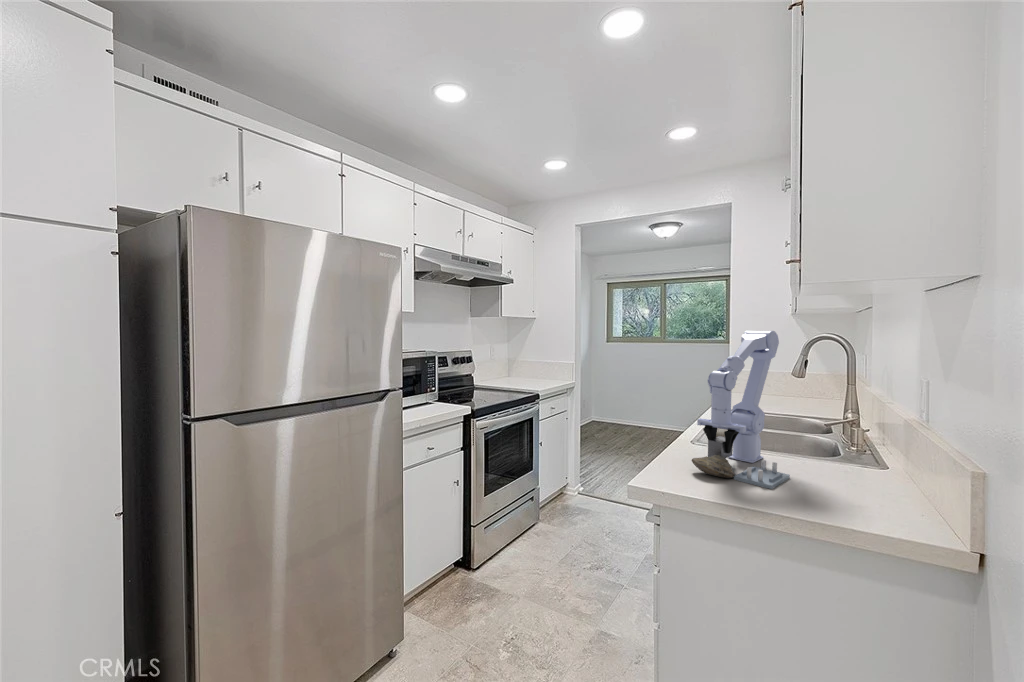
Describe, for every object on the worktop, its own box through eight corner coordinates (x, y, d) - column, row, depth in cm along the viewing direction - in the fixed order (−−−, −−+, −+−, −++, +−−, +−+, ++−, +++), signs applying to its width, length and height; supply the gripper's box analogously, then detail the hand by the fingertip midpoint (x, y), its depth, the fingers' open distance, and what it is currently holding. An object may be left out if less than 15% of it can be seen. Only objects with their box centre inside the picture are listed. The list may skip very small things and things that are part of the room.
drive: (719, 452, 145) (719, 435, 145) (732, 455, 142) (732, 438, 142) (707, 457, 140) (708, 440, 140) (721, 460, 137) (721, 442, 137)
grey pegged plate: (753, 469, 137) (753, 456, 137) (789, 478, 130) (789, 464, 130) (733, 479, 128) (734, 465, 128) (771, 489, 121) (772, 474, 120)
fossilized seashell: (727, 478, 124) (720, 453, 127) (691, 482, 131) (685, 458, 133) (739, 476, 132) (732, 452, 134) (704, 480, 138) (698, 458, 141)
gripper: (693, 407, 143) (692, 448, 144) (739, 413, 132) (738, 458, 133) (703, 404, 148) (702, 444, 149) (749, 410, 137) (748, 454, 138)
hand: (720, 451), depth 141 cm, fingers closed on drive, 4 cm apart
